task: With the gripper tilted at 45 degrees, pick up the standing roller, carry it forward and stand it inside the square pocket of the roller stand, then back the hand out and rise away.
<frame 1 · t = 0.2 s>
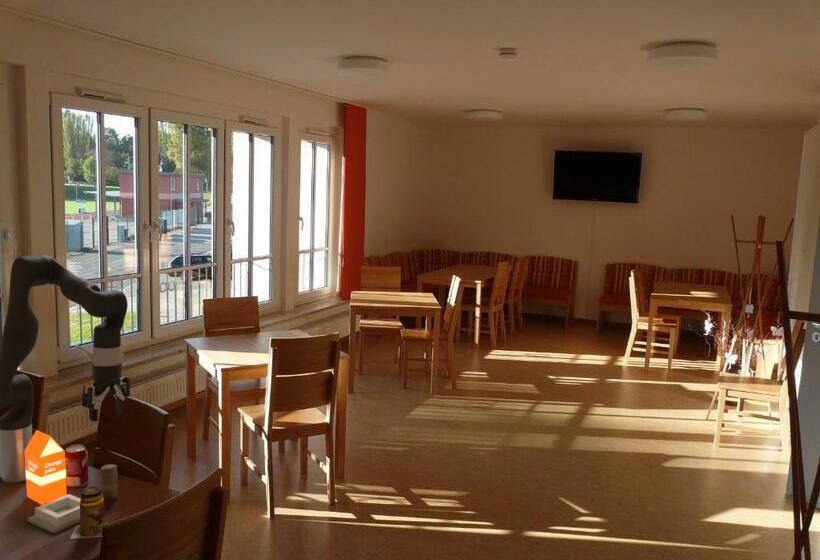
hand: (106, 416, 199), 29 cm above the table, tool pointing down, fingers open, 8 cm apart
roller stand: (63, 517, 200), on the table
roller: (109, 497, 213), on the table
orange juice: (46, 497, 213), on the table
condiment: (89, 532, 193), on the table
soda can: (77, 485, 221), on the table
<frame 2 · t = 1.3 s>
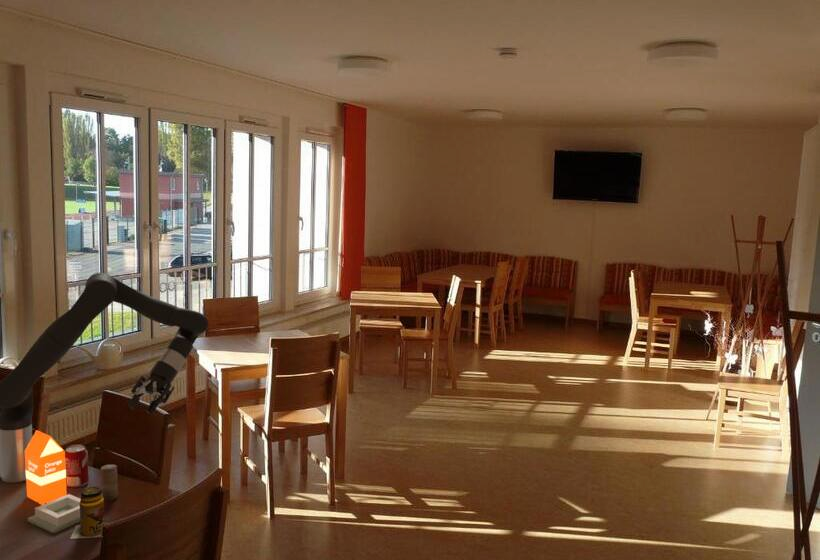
hand: (139, 409, 219), 24 cm above the table, tool tilted 45°, fingers open, 8 cm apart
nothing on the table moved.
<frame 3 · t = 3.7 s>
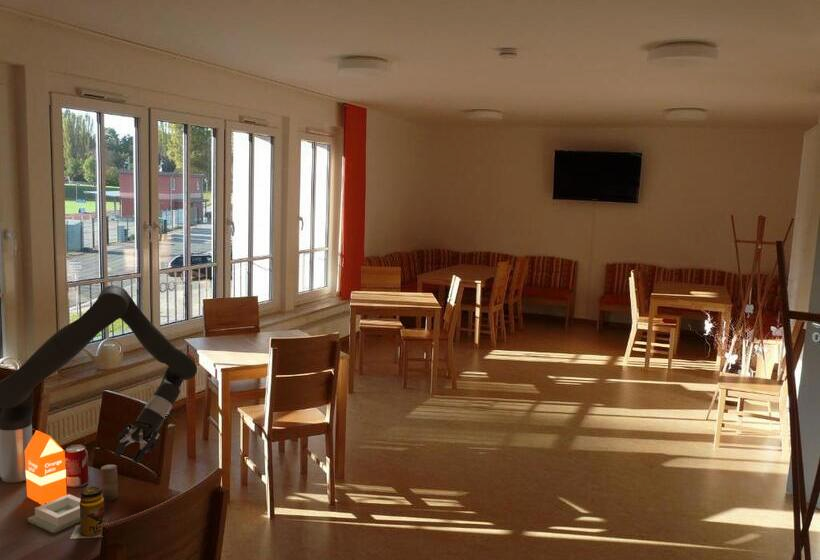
hand: (125, 458, 217), 10 cm above the table, tool tilted 45°, fingers open, 8 cm apart
nothing on the table moved.
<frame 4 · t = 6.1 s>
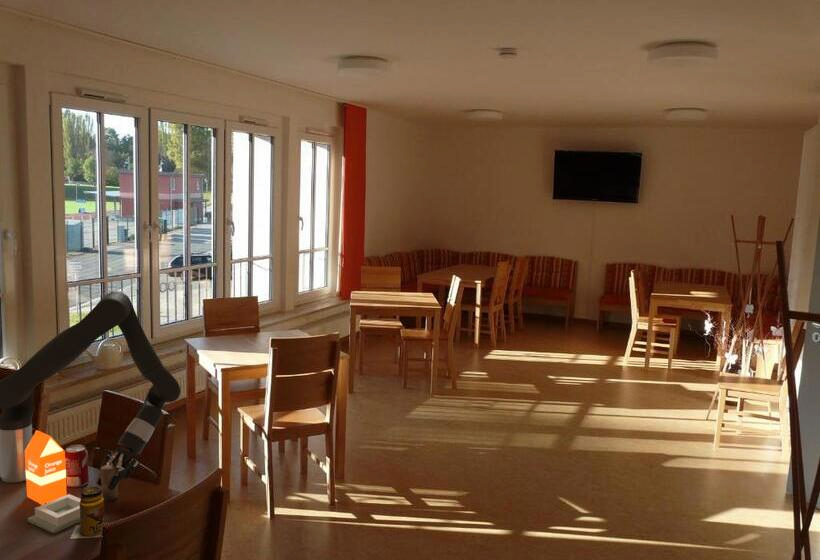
hand: (104, 486, 211), 4 cm above the table, tool tilted 45°, fingers closed on roller, 4 cm apart
roller: (110, 497, 213), on the table, touching gripper
everything else where it was.
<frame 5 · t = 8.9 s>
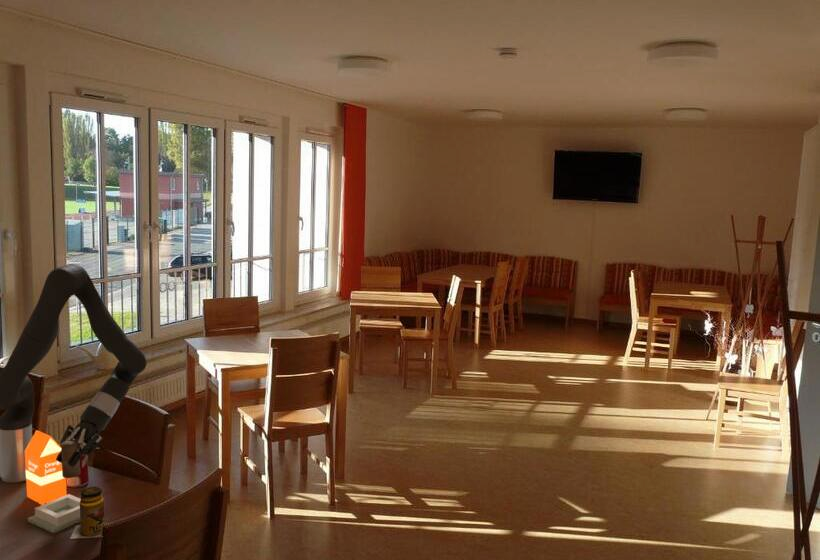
hand: (64, 463, 199), 16 cm above the table, tool tilted 45°, fingers closed on roller, 4 cm apart
roller: (71, 474, 201), point 12 cm above the table, touching gripper
everything else where it was.
when the fingers open (7 cm above the table, at t = 11.8 s): roller drops 1 cm, resting on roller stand.
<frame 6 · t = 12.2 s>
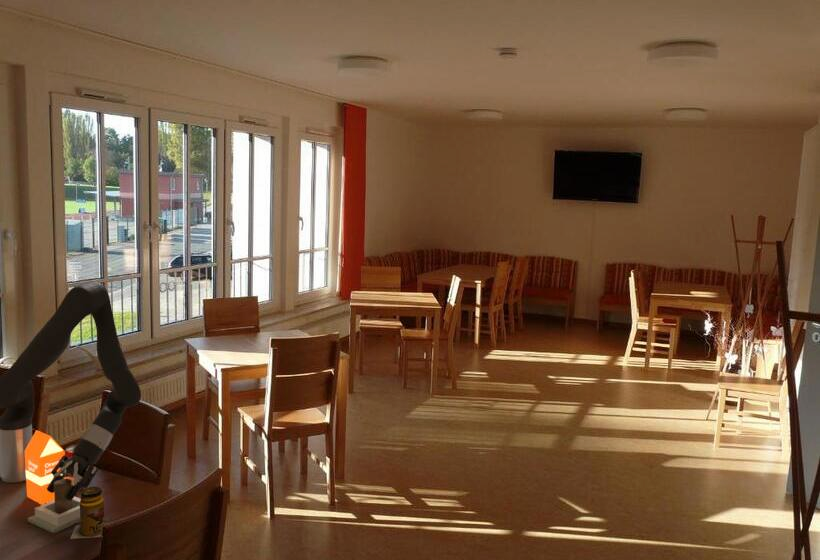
hand: (58, 495, 198), 7 cm above the table, tool tilted 45°, fingers open, 8 cm apart
roller: (64, 513, 200), point 1 cm above the table, touching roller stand
everything else where it was.
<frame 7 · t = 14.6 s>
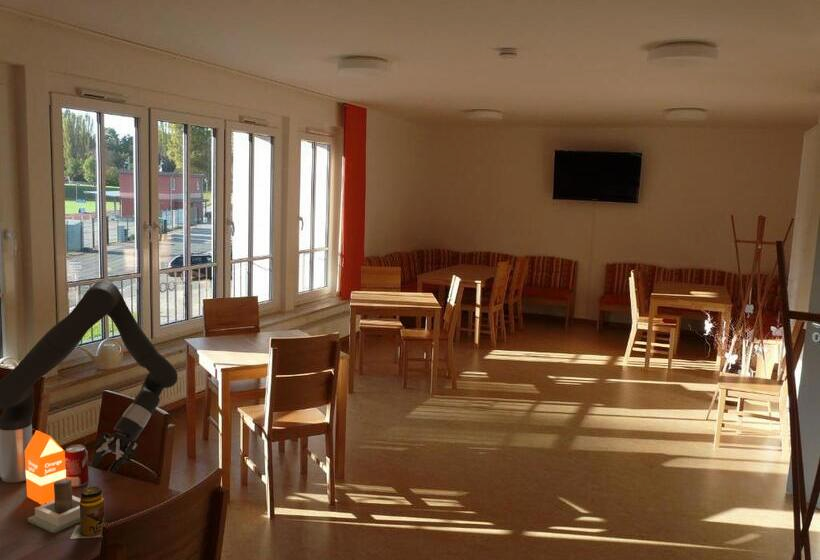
hand: (101, 469, 210), 10 cm above the table, tool tilted 45°, fingers open, 8 cm apart
nothing on the table moved.
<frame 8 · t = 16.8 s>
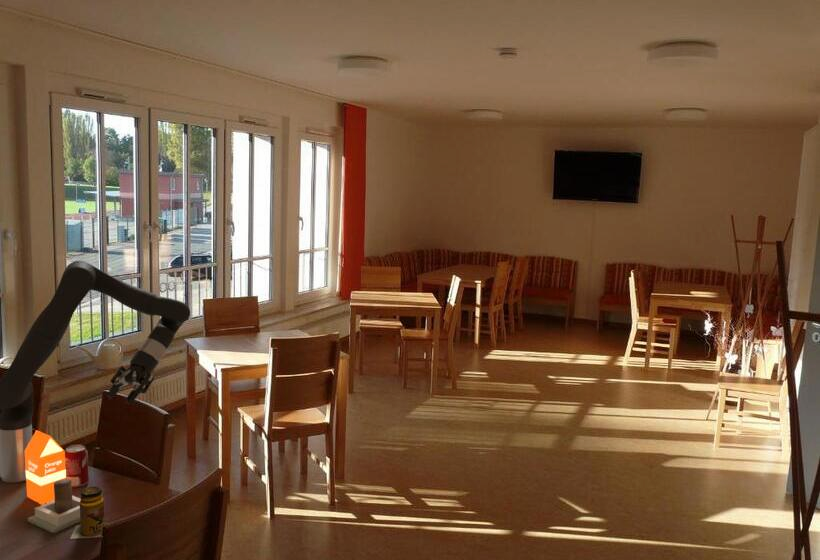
hand: (118, 400, 215), 29 cm above the table, tool tilted 45°, fingers open, 8 cm apart
nothing on the table moved.
at the end: roller 0.1 cm off-centre on the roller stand, point 1.0 cm above the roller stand's base; roller tilted 0°; the gripper is holding nothing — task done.
